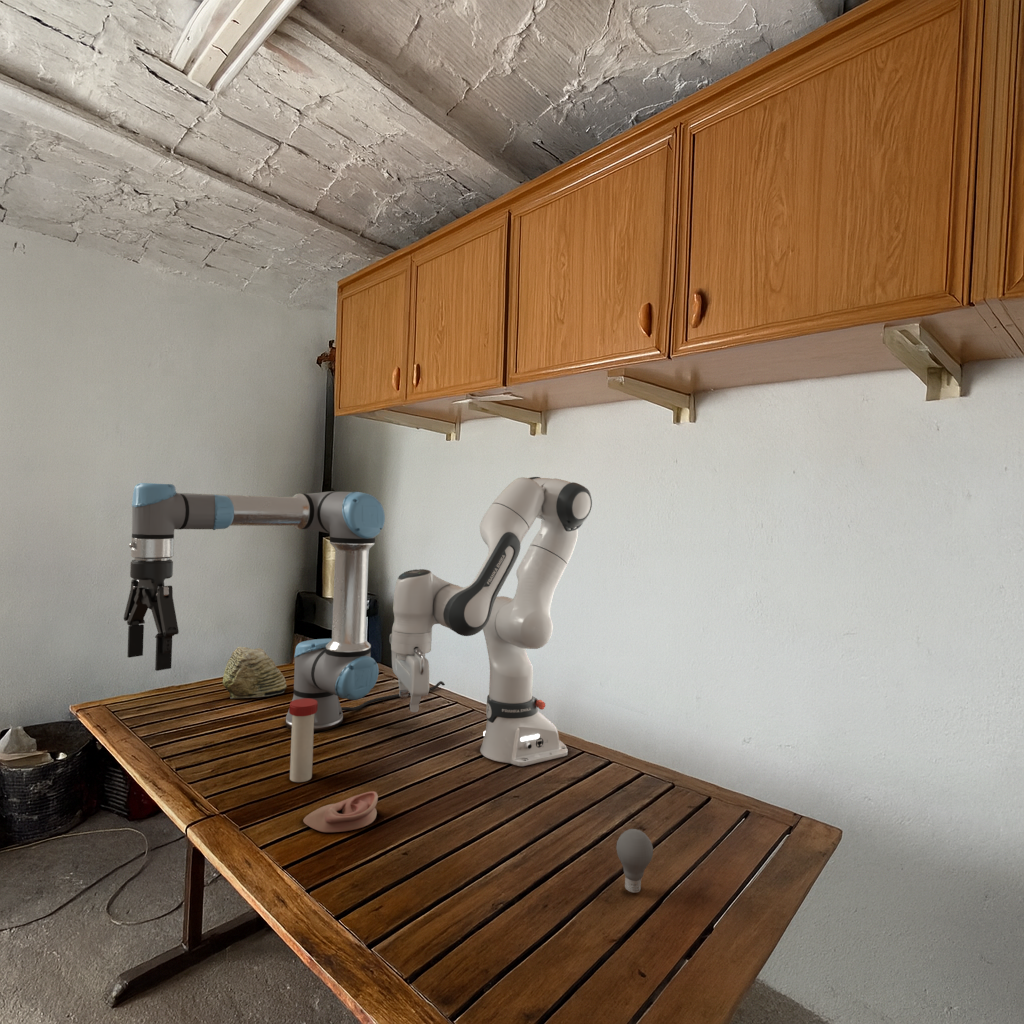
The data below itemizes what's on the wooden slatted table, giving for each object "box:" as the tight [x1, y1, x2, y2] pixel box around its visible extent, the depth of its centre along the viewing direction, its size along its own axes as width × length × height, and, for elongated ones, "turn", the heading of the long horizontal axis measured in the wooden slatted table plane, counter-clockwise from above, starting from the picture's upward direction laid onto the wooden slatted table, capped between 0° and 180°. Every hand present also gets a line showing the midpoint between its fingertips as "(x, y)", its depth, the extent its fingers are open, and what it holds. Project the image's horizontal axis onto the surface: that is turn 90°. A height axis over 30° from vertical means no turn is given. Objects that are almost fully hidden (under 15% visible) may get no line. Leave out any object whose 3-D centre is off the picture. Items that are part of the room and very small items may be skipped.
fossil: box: [222, 646, 288, 699], centre depth 198 cm, size 9×18×15 cm, turn 132°
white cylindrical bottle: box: [289, 714, 315, 783], centre depth 142 cm, size 5×5×17 cm
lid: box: [288, 698, 318, 716], centre depth 142 cm, size 6×6×2 cm
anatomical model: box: [302, 791, 379, 833], centre depth 125 cm, size 13×4×12 cm
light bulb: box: [615, 828, 654, 894], centre depth 106 cm, size 6×6×10 cm
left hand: (148, 662), depth 129 cm, fingers open, 13 cm apart
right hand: (408, 704), depth 141 cm, fingers open, 8 cm apart
